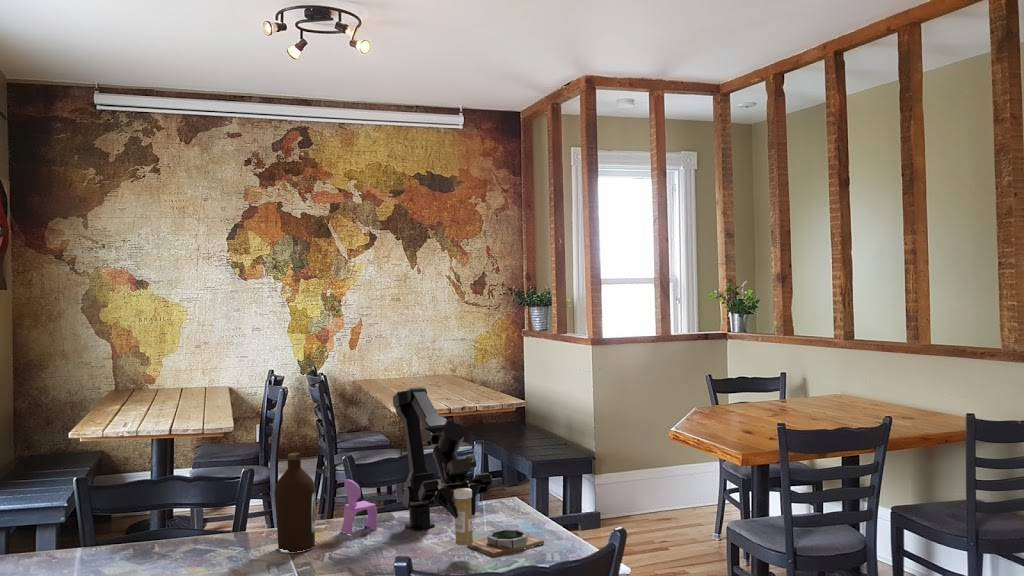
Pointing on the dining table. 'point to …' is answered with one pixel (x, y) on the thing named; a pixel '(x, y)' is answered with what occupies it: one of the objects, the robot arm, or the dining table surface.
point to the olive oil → (295, 507)
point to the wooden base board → (492, 551)
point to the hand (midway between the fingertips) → (465, 516)
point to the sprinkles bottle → (463, 516)
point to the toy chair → (357, 508)
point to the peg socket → (507, 538)
